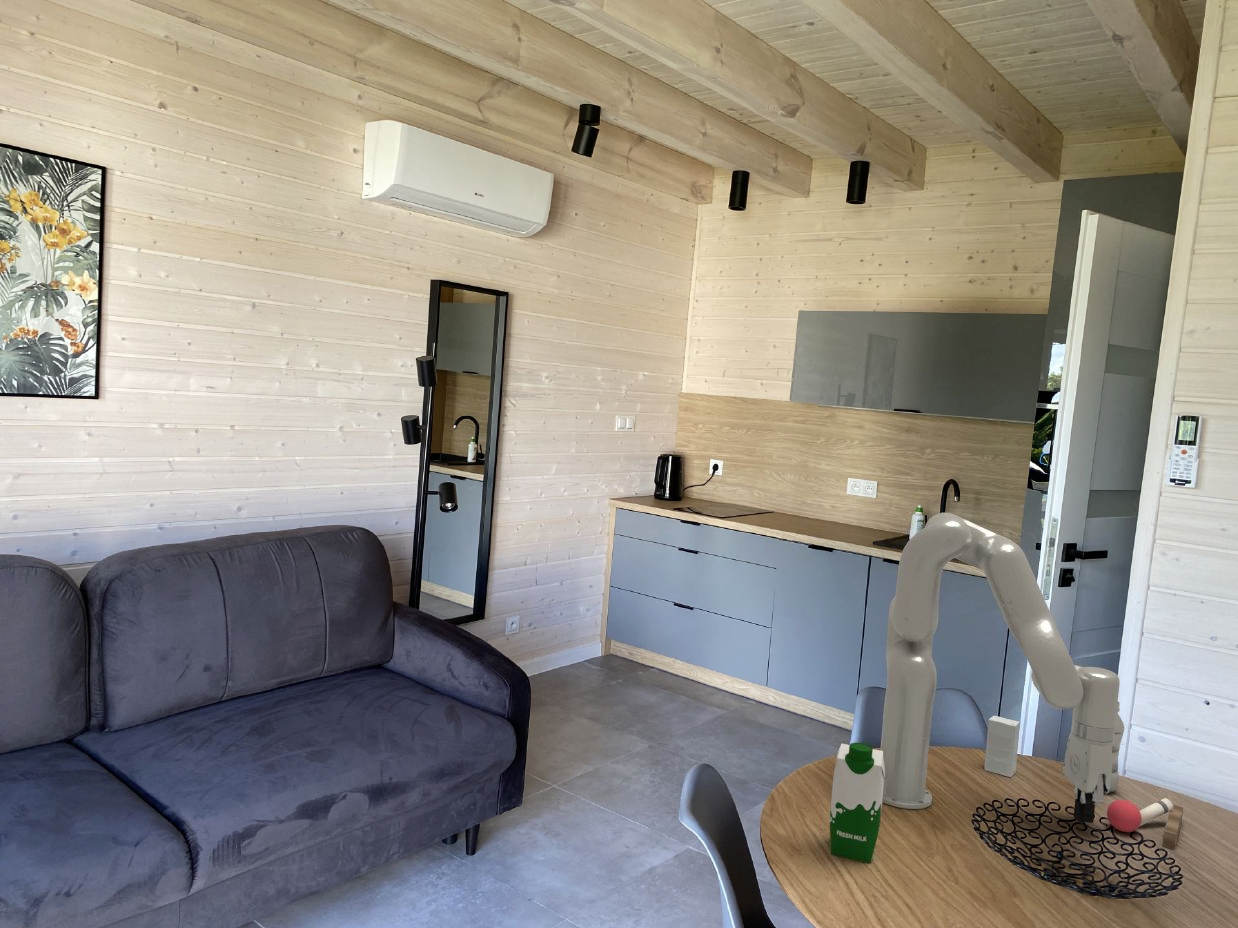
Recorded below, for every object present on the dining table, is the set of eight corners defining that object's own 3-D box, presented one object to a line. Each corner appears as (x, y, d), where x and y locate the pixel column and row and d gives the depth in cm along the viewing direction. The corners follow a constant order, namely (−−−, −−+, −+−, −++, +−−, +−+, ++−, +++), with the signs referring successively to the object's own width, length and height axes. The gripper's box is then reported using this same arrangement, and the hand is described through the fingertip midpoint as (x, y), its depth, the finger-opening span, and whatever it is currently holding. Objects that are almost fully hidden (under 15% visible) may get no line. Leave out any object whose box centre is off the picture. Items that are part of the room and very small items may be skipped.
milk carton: (825, 855, 158) (834, 746, 157) (830, 833, 167) (839, 730, 166) (876, 867, 156) (886, 755, 154) (878, 844, 164) (888, 738, 163)
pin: (1128, 812, 180) (1161, 795, 182) (1131, 823, 180) (1164, 806, 183) (1138, 817, 178) (1172, 800, 180) (1141, 828, 178) (1174, 811, 180)
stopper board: (1174, 849, 170) (1176, 834, 170) (1162, 845, 171) (1164, 830, 171) (1181, 821, 183) (1183, 807, 183) (1170, 818, 184) (1171, 804, 184)
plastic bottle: (1109, 784, 200) (1118, 697, 199) (1123, 797, 193) (1132, 707, 192) (1079, 781, 201) (1088, 694, 199) (1092, 793, 194) (1101, 704, 193)
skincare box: (1016, 772, 203) (1021, 721, 202) (1010, 778, 200) (1016, 726, 199) (988, 764, 207) (993, 714, 206) (983, 769, 204) (987, 718, 203)
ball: (1151, 812, 173) (1143, 840, 174) (1135, 797, 179) (1127, 824, 180) (1120, 805, 174) (1112, 834, 174) (1105, 791, 179) (1098, 818, 180)
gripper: (1055, 716, 184) (1047, 802, 185) (1092, 743, 169) (1083, 837, 170) (1092, 719, 183) (1083, 805, 185) (1132, 746, 169) (1122, 840, 170)
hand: (1083, 820), depth 177 cm, fingers closed
